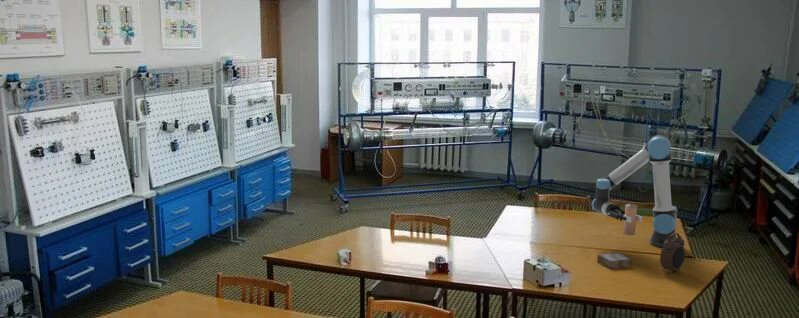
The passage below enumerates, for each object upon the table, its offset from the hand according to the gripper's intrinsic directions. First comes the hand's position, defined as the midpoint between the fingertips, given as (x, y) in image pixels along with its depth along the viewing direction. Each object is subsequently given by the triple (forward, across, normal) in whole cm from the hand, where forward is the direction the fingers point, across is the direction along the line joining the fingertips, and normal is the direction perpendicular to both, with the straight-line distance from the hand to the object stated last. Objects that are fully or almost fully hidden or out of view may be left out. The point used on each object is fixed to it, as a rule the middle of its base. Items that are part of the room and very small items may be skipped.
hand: (636, 219), depth 381 cm
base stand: (+5, +15, -22) cm, 27 cm away
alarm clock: (+23, -7, -22) cm, 33 cm away
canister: (-5, 0, -9) cm, 10 cm away
